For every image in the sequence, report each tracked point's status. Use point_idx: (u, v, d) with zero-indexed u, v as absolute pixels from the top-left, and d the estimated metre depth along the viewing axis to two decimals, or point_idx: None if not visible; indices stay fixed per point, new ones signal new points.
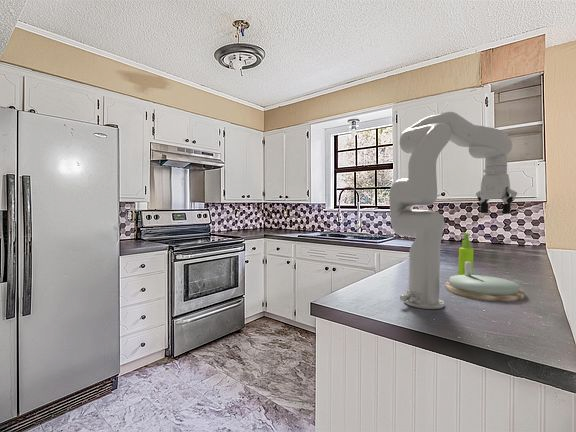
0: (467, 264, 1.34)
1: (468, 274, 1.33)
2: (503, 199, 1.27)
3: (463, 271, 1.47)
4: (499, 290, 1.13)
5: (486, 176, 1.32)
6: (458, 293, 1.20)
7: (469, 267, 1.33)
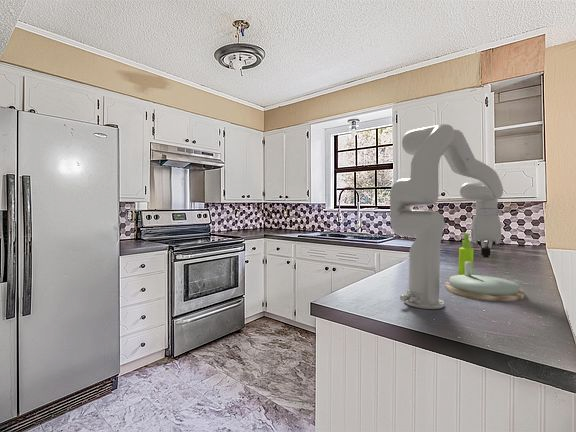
0: (467, 264, 1.34)
1: (468, 274, 1.33)
2: None
3: (463, 271, 1.47)
4: (499, 290, 1.13)
5: None
6: (458, 293, 1.20)
7: (469, 267, 1.33)
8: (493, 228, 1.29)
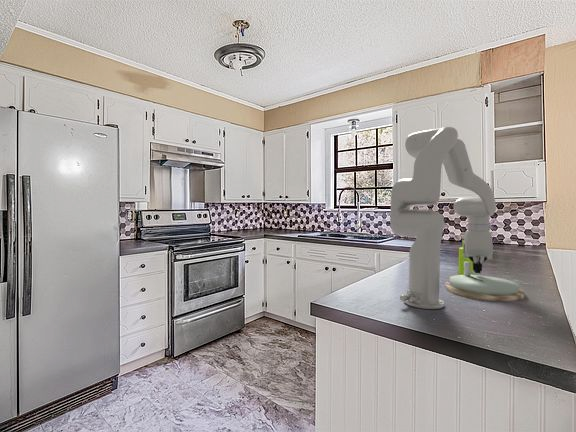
0: (466, 264, 1.33)
1: (467, 274, 1.33)
2: None
3: (463, 271, 1.47)
4: (500, 290, 1.13)
5: None
6: (458, 293, 1.20)
7: (468, 267, 1.33)
8: (485, 244, 1.30)
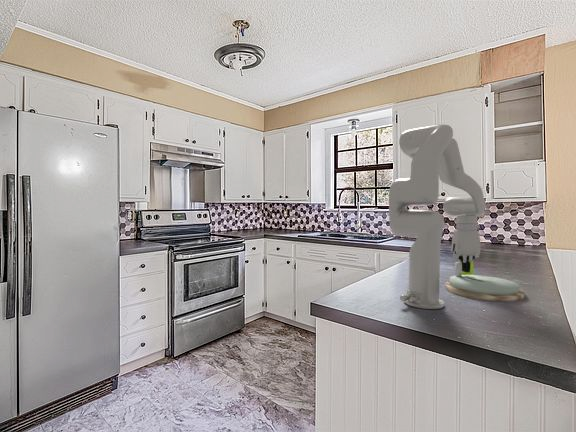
0: (459, 265, 1.32)
1: (460, 275, 1.32)
2: None
3: None
4: (513, 289, 1.14)
5: None
6: (458, 293, 1.20)
7: (460, 268, 1.32)
8: (474, 243, 1.32)
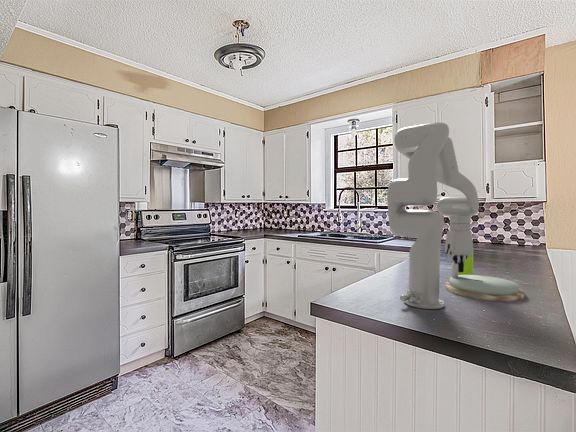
0: (456, 266, 1.30)
1: (457, 276, 1.30)
2: None
3: None
4: (518, 288, 1.16)
5: None
6: (458, 293, 1.20)
7: (457, 269, 1.30)
8: (468, 243, 1.31)
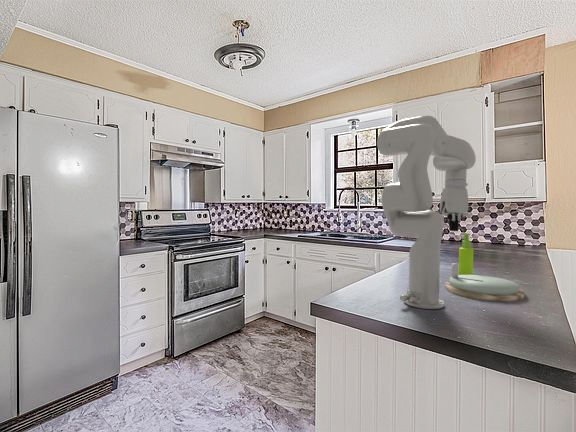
0: (456, 266, 1.30)
1: (457, 276, 1.30)
2: None
3: (463, 271, 1.47)
4: (518, 288, 1.16)
5: None
6: (458, 293, 1.20)
7: (457, 269, 1.30)
8: (463, 200, 1.28)
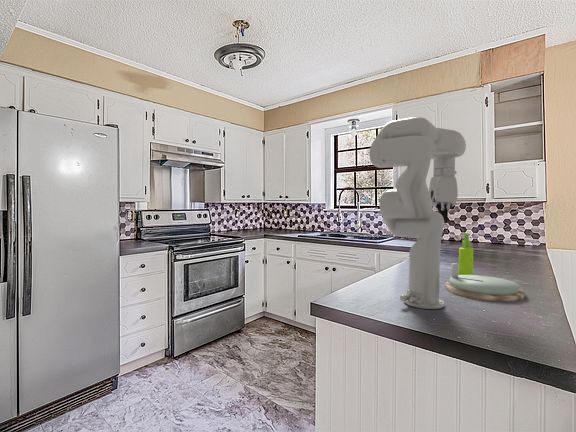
0: (456, 266, 1.30)
1: (457, 276, 1.30)
2: None
3: (463, 271, 1.47)
4: (518, 288, 1.16)
5: None
6: (458, 293, 1.20)
7: (457, 269, 1.30)
8: (452, 189, 1.24)
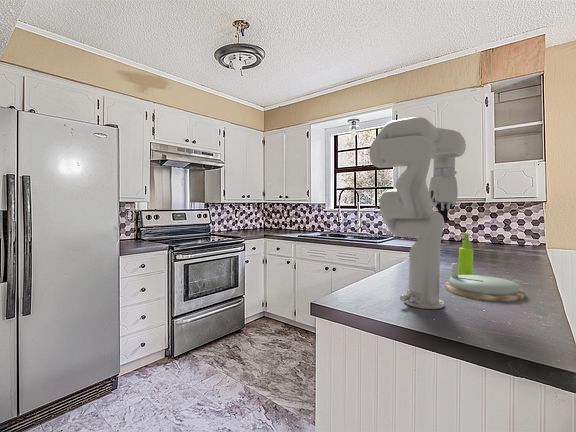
0: (456, 266, 1.30)
1: (457, 276, 1.30)
2: None
3: (463, 271, 1.47)
4: (518, 288, 1.16)
5: None
6: (458, 293, 1.20)
7: (457, 269, 1.30)
8: (452, 189, 1.24)
